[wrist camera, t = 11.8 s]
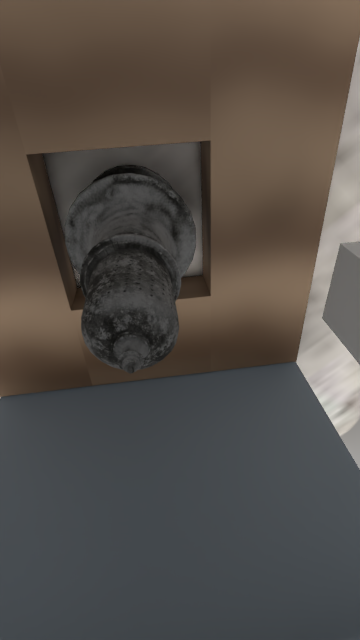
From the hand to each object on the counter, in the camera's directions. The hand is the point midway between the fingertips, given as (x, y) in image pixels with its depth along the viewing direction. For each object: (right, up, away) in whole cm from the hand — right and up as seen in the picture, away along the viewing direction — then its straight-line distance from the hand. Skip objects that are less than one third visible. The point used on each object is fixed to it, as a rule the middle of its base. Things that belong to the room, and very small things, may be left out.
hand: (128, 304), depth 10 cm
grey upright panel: (-1, -3, +13) cm, 13 cm away
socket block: (-1, +5, +8) cm, 9 cm away
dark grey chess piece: (-1, +5, +8) cm, 10 cm away
